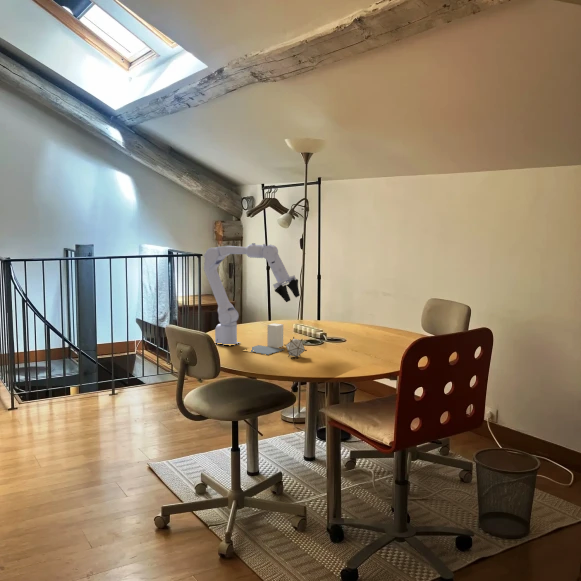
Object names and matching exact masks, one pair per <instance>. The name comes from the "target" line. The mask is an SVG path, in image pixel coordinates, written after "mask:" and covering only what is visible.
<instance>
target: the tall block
mask: <svg viewBox="0 0 581 581" xmlns="http://www.w3.org/2000/svg"><path fill="white" fill-rule="evenodd" d="M266 339H267V347H273V348H279V347H281V348H283V347H284V324H281V323H270V324H267V338H266ZM282 346H283V347H282Z"/></svg>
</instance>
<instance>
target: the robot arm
mask: <svg viewBox="0 0 581 581" xmlns="http://www.w3.org/2000/svg"><path fill="white" fill-rule="evenodd" d="M229 255H246V256H247V257H248V258H249V259H250V258H253V259H254V258H255V259H264V260H266V261H267V263H268V265H269V268H270V269H271V272H272V274H273V276H274V278H275V279H276V283H274V284H273V285H272V286H273V288H274V292H276V294H278V295H279V296H280V297H281V298H282V299H283V300H284V302H286V303H288V302H290V301H291V297H290V294H289V292H288V289H289V290H290V291H291V292H292V294H293V296H294V298H299V297H300V296H301V295H300V290H299V279H298V278H296V276H295V275H291V276H290V275H289V272H288V271H287V269H286V267H285V265H284V263H283V261H282V258H281V256H280V255H279V249H278V247H277V246H276V245H273V244H268V245H267V244H266V243H263V244H256V243H254V242H253V243H251V244H248V245H247V246H239V245H238V246H235V245H224V246H217V247H209V248H207V249H206V251H205V253H204V255H203V257H204V263H203V264H204V265H203V271H204V273H205V276H206V278H207V282H208V283H209V286H210V289H211V292H212V294H213V296H214V299H215V301H216V304H217V314H218V322H219V323H218V324H217V325H216V327H215V328H214V332H215V333H214V337H215V339H214V343H215V342H216V343H222V344H237V345H239V344H238V343H242V342H239V341H238V335H237V334H238V322H237V321H238V320H239V316H240V314H239V312H238V310H237V309H236V308H235V307H234V304H232V303H231V302H230V300H229V297H228V295H227V292H226V289H225V286H224V284H223V282H222V279H221V277H220V275H219V272H218V268H219V265H220V264H221V262H223V260H224V259H226V257H228V256H229Z"/></svg>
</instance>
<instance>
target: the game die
mask: <svg viewBox="0 0 581 581" xmlns="http://www.w3.org/2000/svg"><path fill="white" fill-rule="evenodd" d="M284 346H285V347H286V350H287V351H286V353H288V356H287V357H288V358H289V357H295V358H296V359H297V360H298V357H301V355H302V354H303V353H304V352H307V351H308V350H307V349H305V346H304V343H303V338H301V339H298V338H295V336H293V338H292V339H289V342H288V343H286V344H283V347H284Z"/></svg>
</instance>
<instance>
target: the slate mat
mask: <svg viewBox="0 0 581 581" xmlns="http://www.w3.org/2000/svg"><path fill="white" fill-rule="evenodd" d="M251 347H252V350H251V352H256V353H255V354H257V353H261V354H260V355H263V354H266V355H265V356H270V355H269V354H271V355H273V354H272V353H274V354H277V353H280V352H283V351H285V349H284V348H273V347H267V346H266V345H265V346H264V345H259V344H257V345H254V346H251ZM253 350H254V351H253ZM282 350H283V351H282ZM279 351H280V352H279ZM251 352H250V353H251ZM276 352H277V353H276Z"/></svg>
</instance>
